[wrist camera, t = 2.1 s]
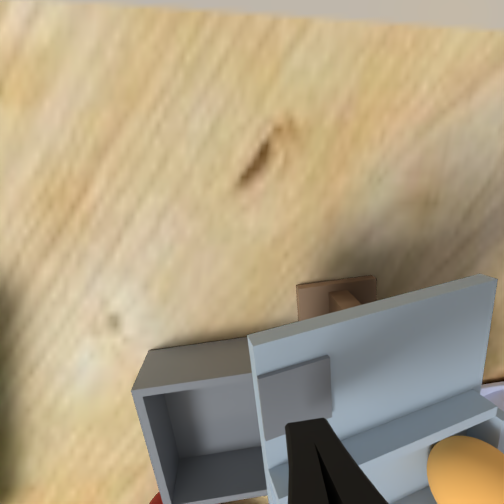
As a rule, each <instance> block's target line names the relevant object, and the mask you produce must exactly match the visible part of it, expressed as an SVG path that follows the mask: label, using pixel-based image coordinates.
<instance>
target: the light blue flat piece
mask: <svg viewBox="0 0 504 504" xmlns="http://www.w3.org/2000/svg"><path fill="white" fill-rule="evenodd" d="M497 280H498V279H496V278H493V277H489V276H486V275H483V274H477V275H473V276H469V277H465V278H462V279H458V280H454V281H450V282H446V283H443V284H439V285H435V286H431V287H427V288H424V289H420V290H416V291H412V292H408V293H405V294H401V295H397V296H393V297H389V298H386V299H382V300H378V301H374V302H371V303H367V304H363V305H359V306H355V307H352V308H348V309H344V310H340V311H336V312H333V313H329V314H325V315H321V316H317V317H314V318H310V319H306V320H302V321H298V322H295V323H291V324H287V325H283V326H280V327H276V328H272V329H268V330H264V331H261V332H257V333H253V334H249V335H247V338H248V346H249V353H250V361H251V369H252V377H253V384H254V392H255V400H256V408H257V415H258V423H259V431H260V439H261V446H262V454H263V462H264V470H265V478H266V485H267V493H268V501H269V504H288V479H289V466H288V456H287V445H286V435H285V425H286V424H287V423H291V422H298V421H304V420H311V419H317V418H323V417H324V418H325V419H327V421H328V422H329V424H330V426H331V427H332V429H333V430H334V432H335V433H336V435H337V436H338V438H339V439H340V441H341V442H342V444H343V445H344V447H345V448H346V449H347V451H348V452H349V454H350V455H351V456H352V458H353V459H354V460H355V462H356V463H357V464H358V466H359V467H360V468H361V470H362V471H363V472H364V474H365V475H366V476H367V477H368V479H369V480H370V481H371V482H372V484H373V485H374V486H375V488H376V489H377V490H378V491H379V493H380V494H381V495H382V496H383V497H384V499H385V500H386V501H387V502H388V503H389V504H437V502H436V500H435V498H434V496H433V494H432V492H431V489H430V486H429V483H428V478H427V460H428V457H429V454H430V451H431V450H432V448H433V447H434V446H435V445H436V444H437V443H438V442H439V441H441V440H442V439H445V438H447V437H450V436H460V435H461V436H469V437H473V438H477V439H480V440H482V441H484V442H486V443H488V444H490V445H492V446H494V447H495V448H497V449H498V450H500V451H501V452H502V453H503V454H504V411H502V410H501V409H499V408H498V406H496V405H495V404H493V403H492V402H491V401H489V400H488V399H486V398H485V397H483V396H482V395H480V391H481V385H482V378H483V372H484V365H485V359H486V352H487V346H488V339H489V332H490V326H491V319H492V313H493V306H494V300H495V293H496V287H497Z"/></svg>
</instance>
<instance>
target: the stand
mask: <svg viewBox="0 0 504 504" xmlns="http://www.w3.org/2000/svg"><path fill="white" fill-rule="evenodd" d="M376 281H377V279H376V278H375V277H374V276H372V275H369V276H362V277H354V278H347V279H339V280H332V281H324V282H317V283H309V284H302V285H296V292H297V306H298V321H302V320H306V319H310V318H314V317H317V316H321V315H325V314H329V313H333V312H336V311H340V310H344V309H348V308H352V307H355V306H359V305H363V304H367V303H371V302H374V301H376Z"/></svg>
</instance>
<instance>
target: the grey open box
mask: <svg viewBox="0 0 504 504" xmlns="http://www.w3.org/2000/svg"><path fill="white" fill-rule="evenodd" d="M131 392H132V396H133V399H134V403H135V406H136V410H137V414H138V417H139V421H140V424H141V428H142V431H143V435H144V438H145V442H146V445H147V449H148V452H149V456H150V460H151V463H152V467H153V470H154V474H155V477H156V481H157V484H158V488H159V491H160V495H161V499H162V502H163V504H218V503H224V502H230V501H236V500H242V499H248V498H254V497H260V496H266V495H268V493H267V485H266V478H265V470H264V462H263V454H262V446H261V439H260V431H259V423H258V415H257V408H256V400H255V392H254V384H253V377H252V369H251V361H250V353H249V346H248V338H247V337H243V338H236V339H229V340H222V341H214V342H207V343H200V344H193V345H186V346H179V347H172V348H165V349H157V350H150V351H148V353H147V355H146V358H145V360H144V362H143V365H142V367H141V369H140V371H139V374H138V376H137V378H136V380H135V383H134V385H133V387H132V390H131Z"/></svg>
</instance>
